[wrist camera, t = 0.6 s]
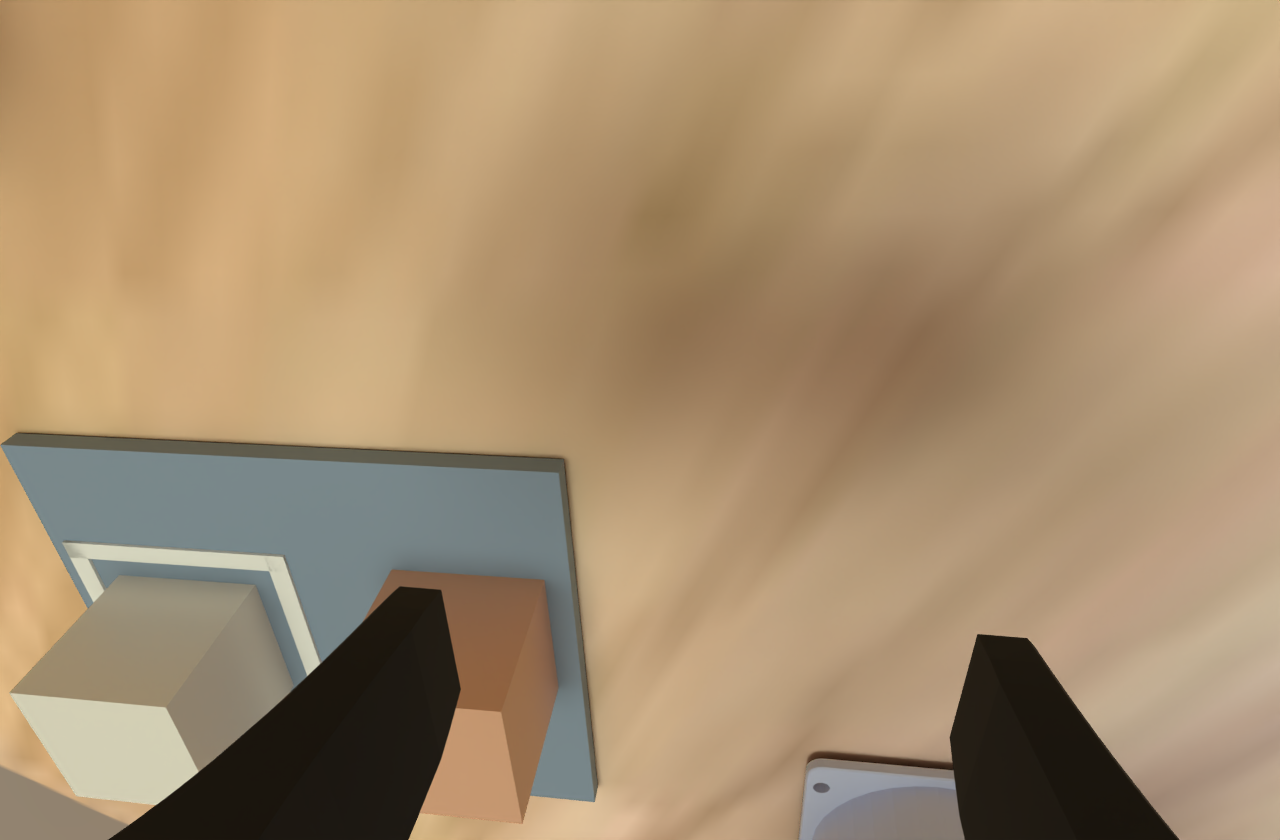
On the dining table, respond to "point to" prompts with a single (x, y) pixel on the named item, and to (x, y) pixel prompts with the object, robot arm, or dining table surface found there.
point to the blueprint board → (319, 540)
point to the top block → (491, 691)
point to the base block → (153, 685)
